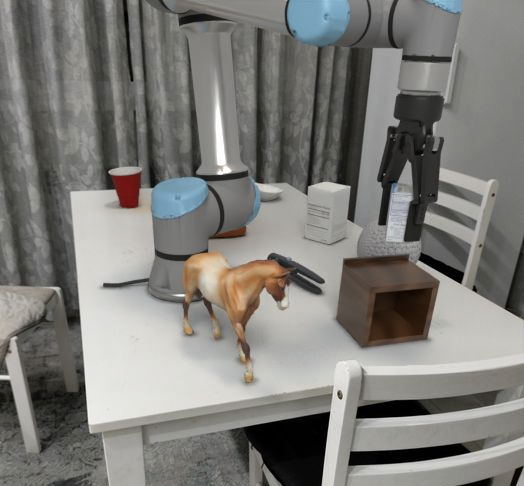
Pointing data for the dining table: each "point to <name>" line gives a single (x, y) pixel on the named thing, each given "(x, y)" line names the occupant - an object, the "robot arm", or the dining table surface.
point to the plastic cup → (127, 185)
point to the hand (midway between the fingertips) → (397, 232)
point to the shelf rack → (386, 300)
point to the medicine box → (398, 212)
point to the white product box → (327, 212)
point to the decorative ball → (384, 243)
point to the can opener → (299, 269)
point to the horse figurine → (233, 292)
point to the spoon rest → (269, 192)
